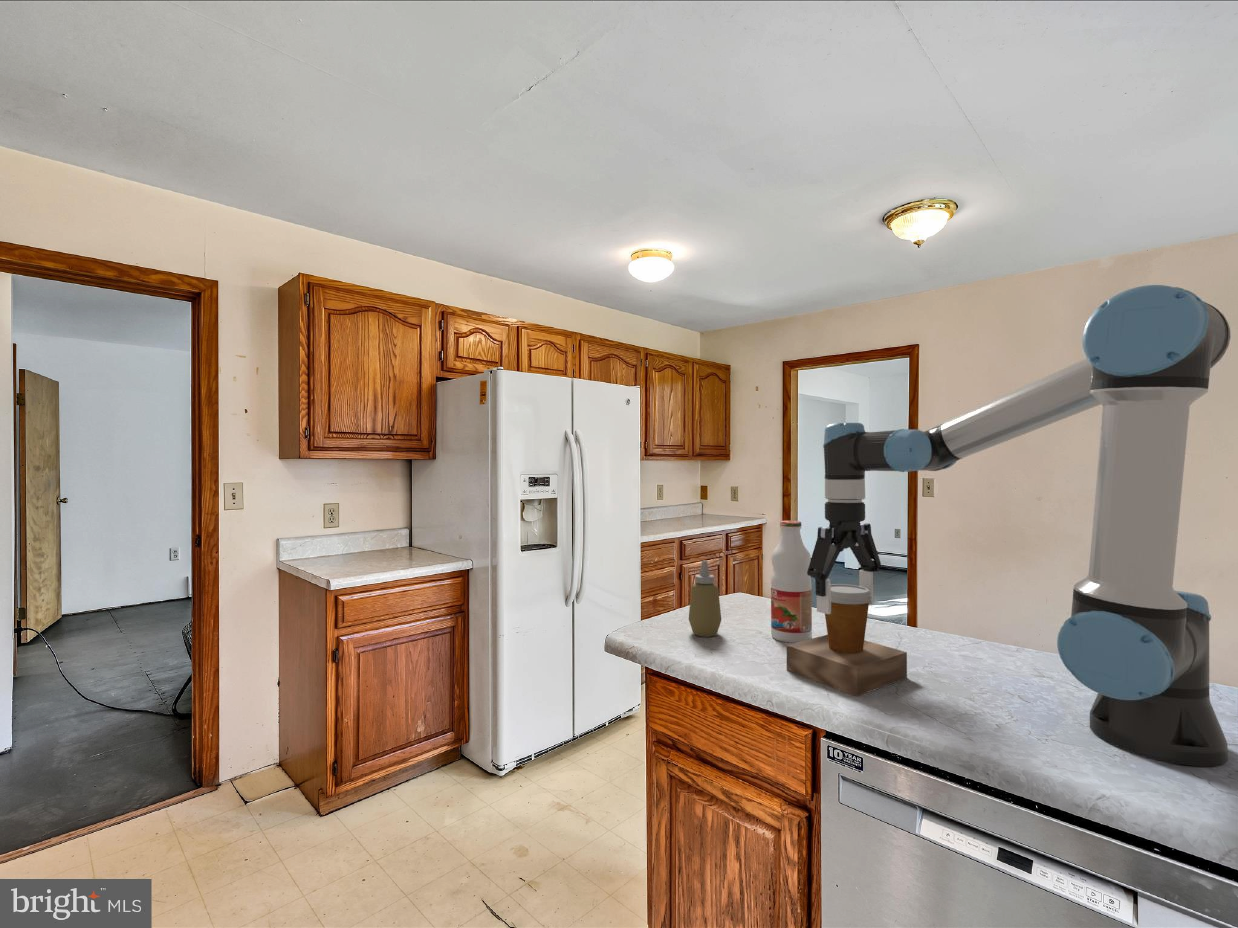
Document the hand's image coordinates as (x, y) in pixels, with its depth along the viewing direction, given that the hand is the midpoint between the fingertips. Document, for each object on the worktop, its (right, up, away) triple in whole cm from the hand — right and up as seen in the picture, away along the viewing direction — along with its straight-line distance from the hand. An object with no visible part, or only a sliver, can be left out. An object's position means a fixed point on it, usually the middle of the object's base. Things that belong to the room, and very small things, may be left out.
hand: (845, 607), depth 115 cm
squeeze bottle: (-24, -14, +28) cm, 39 cm away
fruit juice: (-4, -13, +24) cm, 28 cm away
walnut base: (0, -13, 0) cm, 13 cm away
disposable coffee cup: (0, -8, 0) cm, 8 cm away
